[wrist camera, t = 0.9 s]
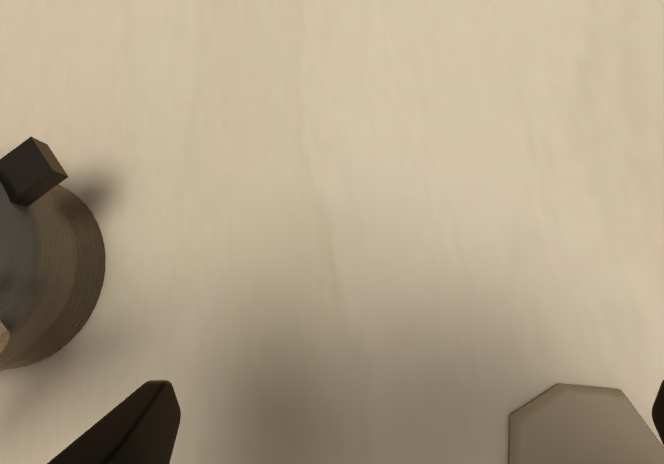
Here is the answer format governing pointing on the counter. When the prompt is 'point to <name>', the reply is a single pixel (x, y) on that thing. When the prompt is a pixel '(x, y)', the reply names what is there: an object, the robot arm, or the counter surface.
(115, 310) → the counter surface
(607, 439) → the flask
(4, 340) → the cooker lid
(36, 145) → the cooker pot
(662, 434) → the robot arm
